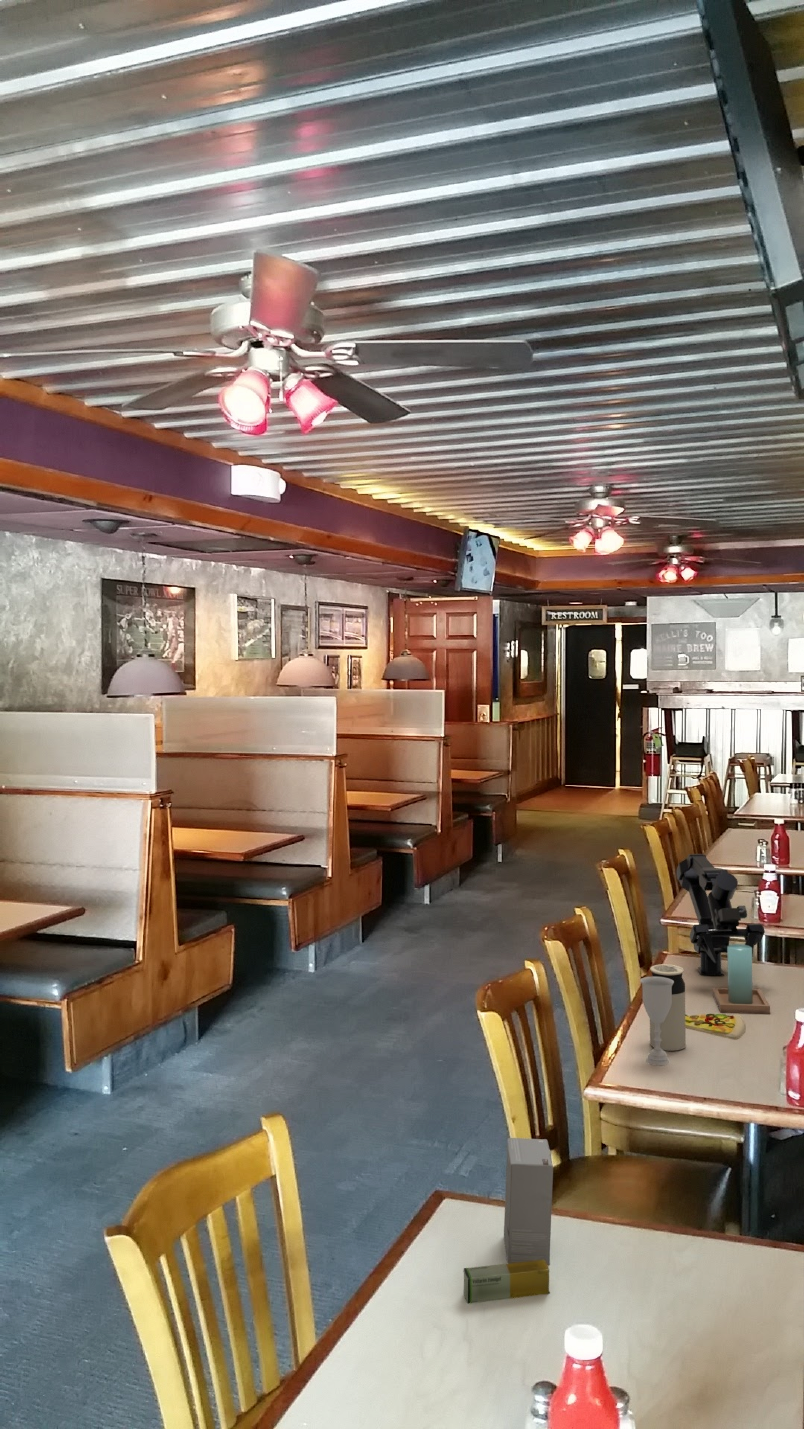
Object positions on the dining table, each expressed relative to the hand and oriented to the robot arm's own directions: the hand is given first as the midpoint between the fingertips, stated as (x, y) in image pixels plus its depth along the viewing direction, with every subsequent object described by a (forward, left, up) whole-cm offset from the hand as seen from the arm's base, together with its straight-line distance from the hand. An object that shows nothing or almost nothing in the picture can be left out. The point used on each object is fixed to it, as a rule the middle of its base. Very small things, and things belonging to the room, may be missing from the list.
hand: (733, 962), depth 276 cm
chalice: (+48, -23, -9) cm, 54 cm away
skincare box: (+128, -48, -9) cm, 137 cm away
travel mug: (+38, -20, -9) cm, 44 cm away
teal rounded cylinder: (+6, +1, -8) cm, 10 cm away
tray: (+6, +1, -9) cm, 11 cm away
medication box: (+139, -51, -10) cm, 149 cm away
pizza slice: (+23, -11, -10) cm, 28 cm away
